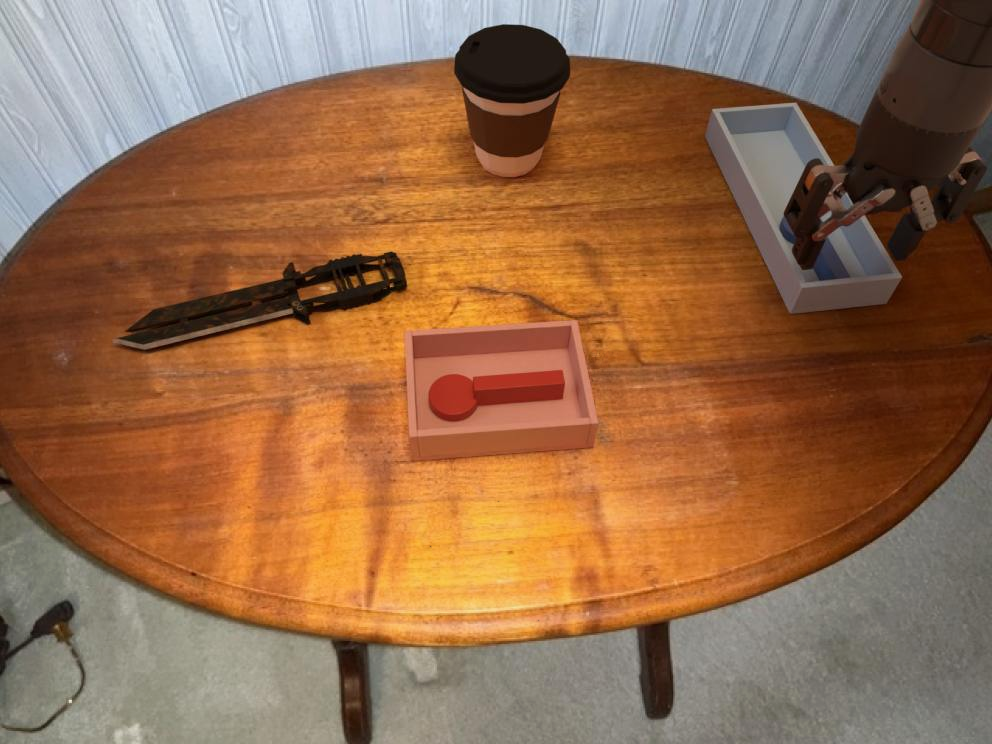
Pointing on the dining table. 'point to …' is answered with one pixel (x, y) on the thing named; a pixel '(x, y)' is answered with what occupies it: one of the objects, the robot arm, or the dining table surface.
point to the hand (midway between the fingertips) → (849, 258)
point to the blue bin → (766, 192)
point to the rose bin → (499, 423)
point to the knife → (271, 308)
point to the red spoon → (491, 391)
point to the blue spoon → (820, 257)
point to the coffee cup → (511, 93)
